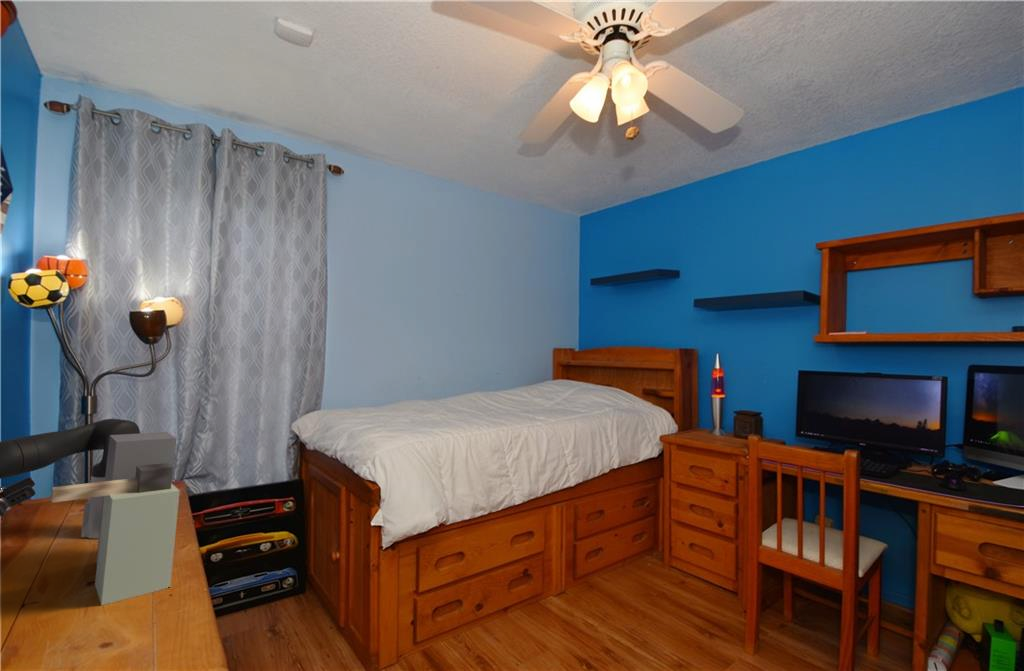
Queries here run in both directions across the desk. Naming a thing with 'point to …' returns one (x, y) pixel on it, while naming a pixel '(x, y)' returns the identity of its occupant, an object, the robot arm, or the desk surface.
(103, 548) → the stand
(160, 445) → the stand
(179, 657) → the desk surface
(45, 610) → the desk surface
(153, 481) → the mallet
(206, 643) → the desk surface
